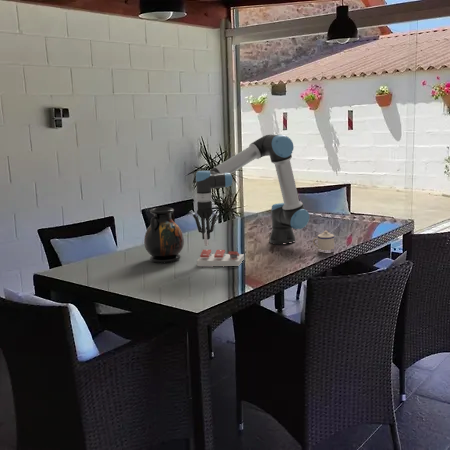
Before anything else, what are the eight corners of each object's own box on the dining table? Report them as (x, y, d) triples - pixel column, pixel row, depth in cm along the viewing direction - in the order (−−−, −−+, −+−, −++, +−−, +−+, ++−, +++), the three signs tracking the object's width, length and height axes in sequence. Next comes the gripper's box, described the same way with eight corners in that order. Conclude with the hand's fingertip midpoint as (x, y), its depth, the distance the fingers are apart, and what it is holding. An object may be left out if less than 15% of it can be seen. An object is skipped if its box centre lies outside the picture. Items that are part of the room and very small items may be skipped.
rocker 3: (239, 258, 304) (239, 253, 305) (236, 256, 298) (236, 251, 299) (230, 258, 305) (231, 253, 306) (228, 256, 299) (228, 251, 300)
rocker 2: (225, 254, 307) (225, 249, 306) (222, 260, 301) (222, 255, 300) (217, 254, 308) (216, 249, 307) (214, 260, 302) (214, 255, 301)
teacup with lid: (336, 250, 320) (336, 229, 318) (330, 254, 313) (330, 233, 311) (316, 248, 327) (316, 228, 324) (309, 252, 319) (309, 231, 317)
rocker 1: (211, 254, 309) (211, 249, 307) (208, 259, 303) (208, 255, 302) (203, 253, 310) (203, 249, 308) (200, 259, 304) (200, 255, 303)
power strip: (244, 259, 311) (244, 253, 310) (239, 266, 298) (238, 260, 297) (204, 259, 316) (203, 253, 315) (197, 266, 303) (196, 260, 302)
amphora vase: (169, 267, 303) (165, 214, 298) (137, 263, 315) (133, 211, 309) (193, 257, 321) (190, 206, 315) (162, 253, 332) (158, 204, 327)
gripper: (190, 202, 301) (192, 246, 305) (214, 202, 298) (217, 247, 302) (194, 199, 308) (196, 243, 312) (218, 199, 305) (220, 243, 310)
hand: (206, 245), depth 307 cm, fingers closed
